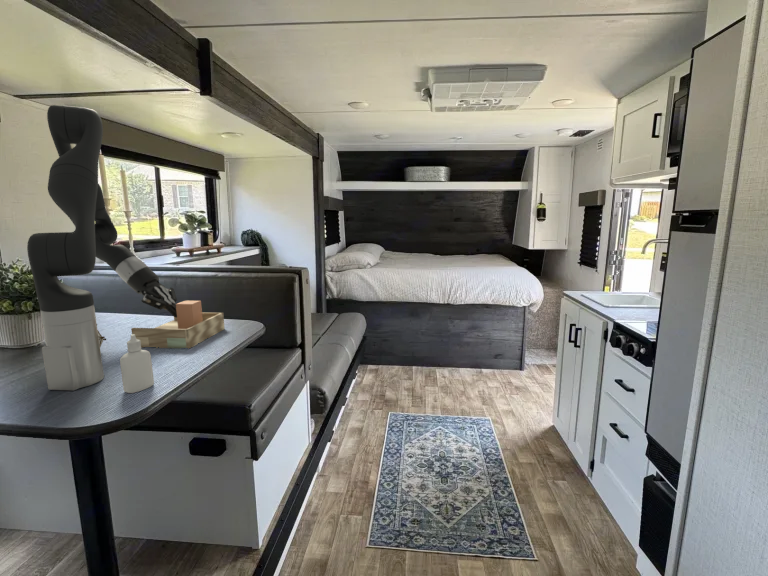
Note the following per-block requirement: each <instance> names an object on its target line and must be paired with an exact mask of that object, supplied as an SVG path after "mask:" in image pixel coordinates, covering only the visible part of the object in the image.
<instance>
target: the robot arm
mask: <svg viewBox="0 0 768 576" xmlns="http://www.w3.org/2000/svg"><path fill="white" fill-rule="evenodd" d="M46 120H47V124H48V125H47V126H48V128H49V132H50V136H51V138H52V141H53V143H54V146H55V149H56V151H57V154H58V158H57V159H56V160H55V161H54V162H53V163H52V165H51V166H50V169H49V175H48V181H47V182H48V183H47V193H48V195H49V196H50V198H51V199H52V201H53V202H54V204H55V205H56V206H57V207H58V208H59V209H60V210H61V211H62V212H63V213H64V214H65V215H66V216H67V217H68V218H69V219H70V221H71V222H72V224H73V225H74V227H75V228H74V230H73V231H71V232H70V231H69V232H68V231H66V232H63V231H62V232H59V231H58V232H36V233H33V234H31V235H30V236H29V238H28V241H27V251H26V252H27V256H28V257H27V258H28V261H29V262H28V263H29V266H30V270H31V274H32V277H33V278H32V279H33V282H34V288H35V293H36V299H37V301H38V305H39V306H38V307H39V311H40V317H41V323H42V328H43V334H44V335H43V336H44V342H45V345H44V346H42V347H41V352H42V358H43V364H44V369H45V377H46V382H47V389H48V390H52V391H53V390H54V391H76V390H78V389H81V388H84V387H88V386H89V387H90V386H92V385H95V384H97V383H99V382H101V381H103V380H104V377H105V372H104V366H103V359H102V351H101V347H100V344H99V337H98V331H99V330H98V323H97V316H96V310H95V309H96V307H95V301H94V295H93V292H91V291H88V290H86V289H81V288H77V287H73V286H70V285H68V284H66V283H63V282H62V281H60V280H59V277H70V276H82V275H83V276H84V275H88V274H91V273H92V272H93V271H94V269H95V266H96V260H97V259H99V260H101V261H103V262H105V263H106V264H107V265H108V266H109V267H110V268H111V269H112V270H113V271H115V272H116V274H117V275H118V277H119V278H120V279H122V281H123V282H125V283H126V285H128V286H129V287H130V288H131V289H132V290H133V291H134V292H135V293H136V294H137V295H142V296H143V298H142V299H141V302H142V303H143V304H146V305H148V306H150V307H153V308H155V309H157V310H165V311H167V312H168V313H170V314H171V315H172V316H173V318H174V317H176V318H177V312H176V302H177V301H178V299H177V295H176V293H175V288H173V287H170V288H166V287H165V285H163V284H162V283H160V282H159V281H160V276H158V274H156V273H155V271H153V270H152V269H151V268H150V267H149V266H148V265H147V264H146V263H145V262H144V261H142V260H141V259H140V258H138V257H137V256H136V255H135V254H134V253H133V252H132V251H131V250H130V249H129V248H128V247H127V246H125V245H123V244H114V243H116V241H117V239H118V231H117V228H116V227H115V225H114V223H113V221H112V220H111V217H110V215H109V213H108V210H107V208H106V203H105V198H104V192H103V190H102V187H101V185H100V184H99V160H100V153H101V149H102V148H101V147H102V141H103V136H104V135H103V134H104V127H103V120H102V118H101V116H100V114H99V112H97V111H96V110H94V109H92V108H88V107H84V106H71V105H61V104H52V105H49V107H48V108H47V112H46ZM72 145H75V146H73V147H72ZM96 258H97V259H96Z"/></svg>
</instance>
